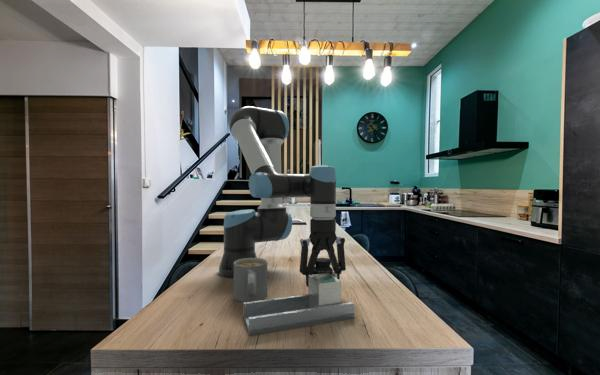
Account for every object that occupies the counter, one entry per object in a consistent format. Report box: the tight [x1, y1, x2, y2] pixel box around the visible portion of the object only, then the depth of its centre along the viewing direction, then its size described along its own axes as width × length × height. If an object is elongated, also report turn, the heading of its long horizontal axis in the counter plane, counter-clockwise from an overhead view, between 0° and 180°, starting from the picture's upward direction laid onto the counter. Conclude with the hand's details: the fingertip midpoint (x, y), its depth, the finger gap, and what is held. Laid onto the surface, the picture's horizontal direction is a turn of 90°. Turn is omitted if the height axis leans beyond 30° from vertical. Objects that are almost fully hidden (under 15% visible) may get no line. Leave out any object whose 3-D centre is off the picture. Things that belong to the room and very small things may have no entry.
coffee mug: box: [233, 257, 268, 303], centre depth 83 cm, size 13×10×10 cm
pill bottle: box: [312, 257, 334, 275], centre depth 84 cm, size 6×6×11 cm
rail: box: [242, 273, 355, 337], centre depth 71 cm, size 10×26×10 cm, turn 109°
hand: (322, 296), depth 83 cm, fingers open, 6 cm apart
